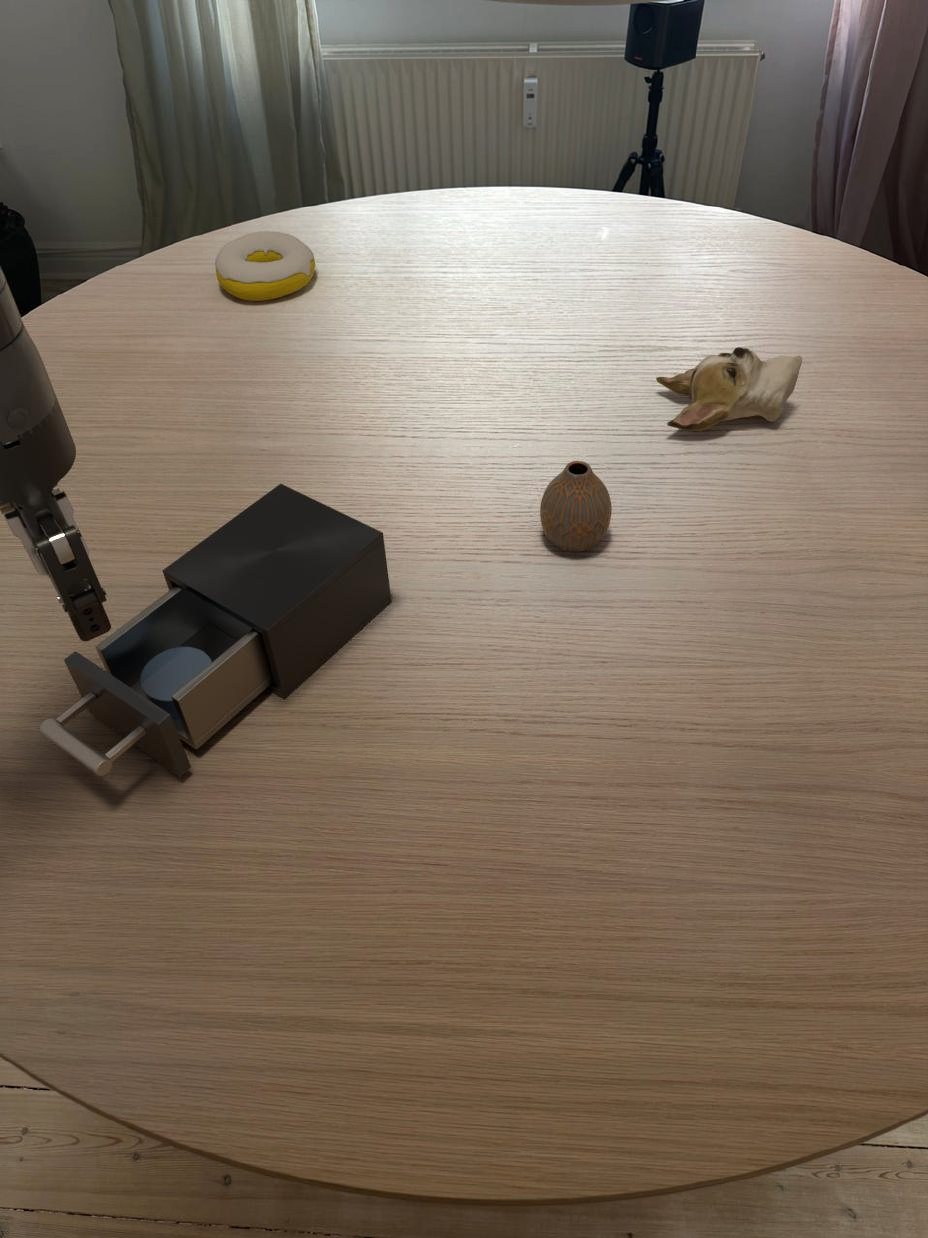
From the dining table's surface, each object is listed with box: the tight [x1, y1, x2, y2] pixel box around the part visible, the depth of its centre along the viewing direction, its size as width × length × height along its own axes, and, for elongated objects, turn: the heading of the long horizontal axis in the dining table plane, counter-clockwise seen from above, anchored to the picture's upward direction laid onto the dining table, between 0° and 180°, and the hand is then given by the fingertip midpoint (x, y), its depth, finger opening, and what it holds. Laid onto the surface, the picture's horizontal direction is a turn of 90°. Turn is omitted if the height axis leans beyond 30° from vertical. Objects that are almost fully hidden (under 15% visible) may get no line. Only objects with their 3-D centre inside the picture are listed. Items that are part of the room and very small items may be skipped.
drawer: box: [39, 585, 274, 778], centre depth 81 cm, size 18×11×7 cm, turn 143°
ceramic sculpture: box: [655, 346, 803, 432], centre depth 109 cm, size 11×9×15 cm
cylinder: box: [140, 647, 212, 719], centre depth 82 cm, size 6×6×2 cm
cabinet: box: [162, 483, 392, 700], centre depth 89 cm, size 15×13×9 cm
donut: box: [214, 230, 316, 302], centre depth 137 cm, size 14×14×5 cm
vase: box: [539, 460, 613, 553], centre depth 95 cm, size 7×7×9 cm
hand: (75, 598), depth 70 cm, fingers open, 8 cm apart
